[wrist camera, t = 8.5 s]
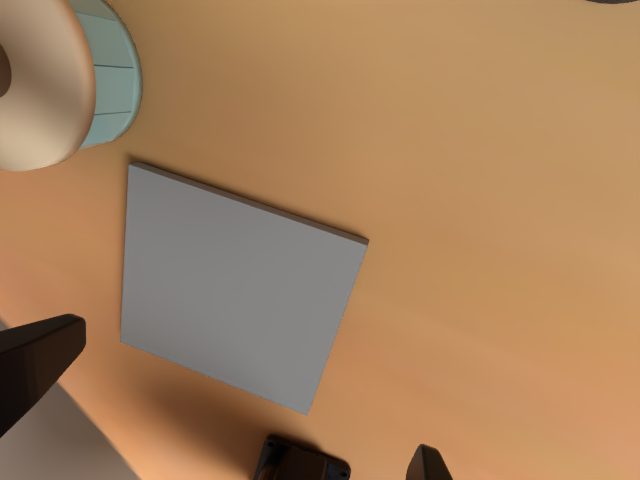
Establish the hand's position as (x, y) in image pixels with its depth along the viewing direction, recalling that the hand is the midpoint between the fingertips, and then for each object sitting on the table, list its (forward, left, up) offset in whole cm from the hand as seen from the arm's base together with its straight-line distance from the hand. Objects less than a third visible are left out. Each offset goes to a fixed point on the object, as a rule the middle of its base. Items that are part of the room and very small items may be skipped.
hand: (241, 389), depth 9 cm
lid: (+4, +16, -8) cm, 18 cm away
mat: (-7, +5, -12) cm, 15 cm away
